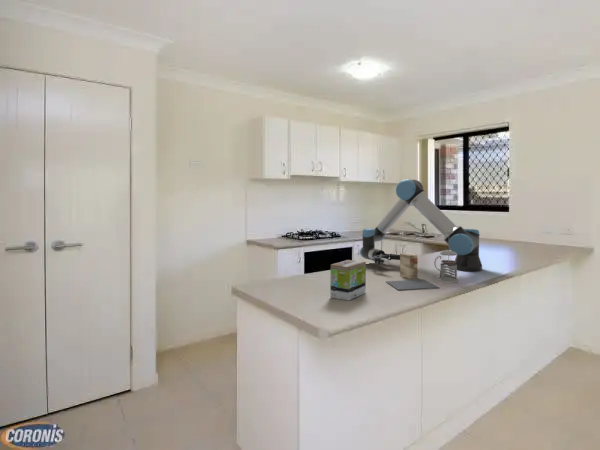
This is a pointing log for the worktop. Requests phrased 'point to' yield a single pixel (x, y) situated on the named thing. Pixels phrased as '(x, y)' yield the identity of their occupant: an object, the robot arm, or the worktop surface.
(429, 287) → the mat
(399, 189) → the robot arm
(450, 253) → the french press
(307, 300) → the worktop surface
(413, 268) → the birch block
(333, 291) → the tea box
